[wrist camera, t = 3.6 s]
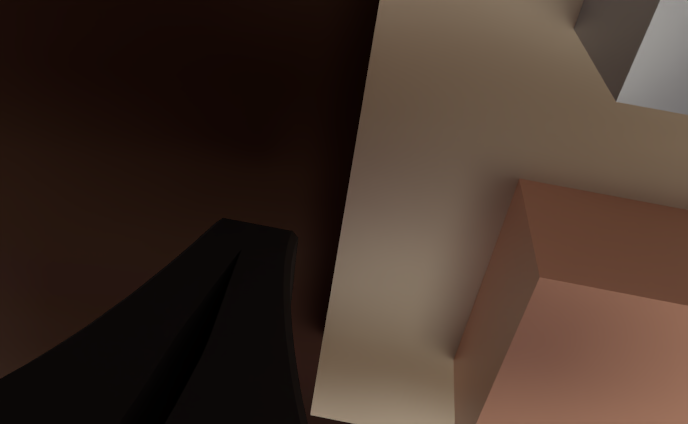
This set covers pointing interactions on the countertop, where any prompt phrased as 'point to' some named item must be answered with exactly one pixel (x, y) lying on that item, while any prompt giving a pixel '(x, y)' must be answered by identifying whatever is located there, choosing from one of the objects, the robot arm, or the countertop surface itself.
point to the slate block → (639, 50)
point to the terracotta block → (579, 314)
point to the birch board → (464, 185)
